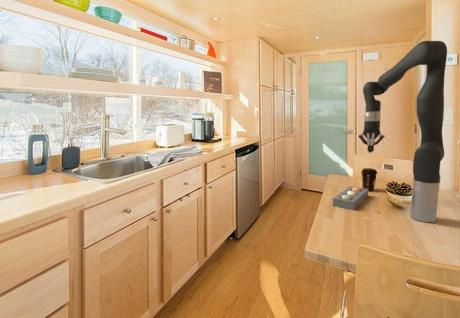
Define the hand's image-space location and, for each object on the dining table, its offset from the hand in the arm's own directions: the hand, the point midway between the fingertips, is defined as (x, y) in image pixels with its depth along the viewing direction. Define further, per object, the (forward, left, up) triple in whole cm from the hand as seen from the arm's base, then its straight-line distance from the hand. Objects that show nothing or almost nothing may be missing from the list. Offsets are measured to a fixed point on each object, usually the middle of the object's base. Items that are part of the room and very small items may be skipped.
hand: (370, 152), depth 145 cm
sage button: (+5, +21, -23) cm, 32 cm away
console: (+5, +12, -25) cm, 29 cm away
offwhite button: (+5, +12, -23) cm, 27 cm away
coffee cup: (+3, -15, -26) cm, 30 cm away
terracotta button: (+5, +3, -23) cm, 24 cm away
